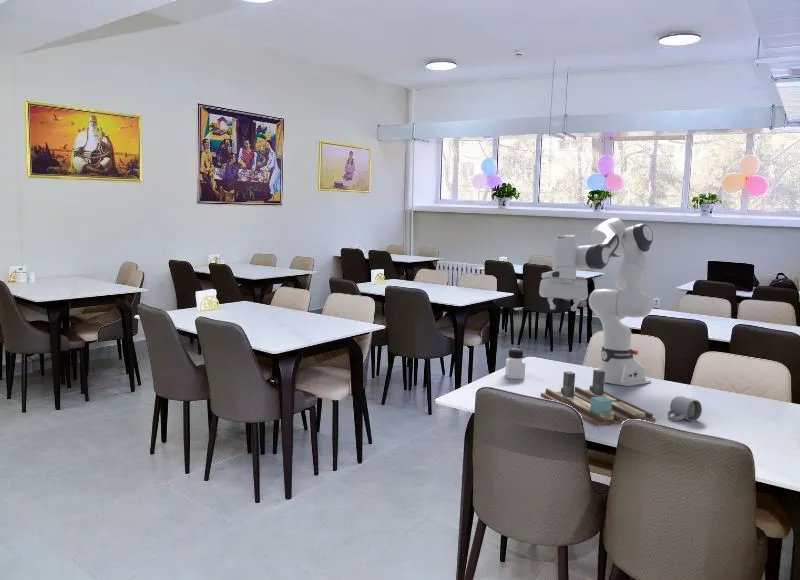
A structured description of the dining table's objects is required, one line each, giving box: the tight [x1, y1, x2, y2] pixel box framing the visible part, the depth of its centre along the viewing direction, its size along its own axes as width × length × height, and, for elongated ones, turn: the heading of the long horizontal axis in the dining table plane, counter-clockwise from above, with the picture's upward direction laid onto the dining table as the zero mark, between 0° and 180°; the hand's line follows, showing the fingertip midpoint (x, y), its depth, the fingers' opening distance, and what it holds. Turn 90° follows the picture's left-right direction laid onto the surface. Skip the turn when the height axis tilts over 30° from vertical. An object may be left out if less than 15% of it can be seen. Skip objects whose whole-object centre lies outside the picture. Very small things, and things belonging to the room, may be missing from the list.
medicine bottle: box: [504, 348, 526, 380], centre depth 275 cm, size 7×7×12 cm
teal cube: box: [590, 396, 612, 416], centre depth 222 cm, size 5×5×5 cm
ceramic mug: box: [667, 395, 703, 423], centre depth 226 cm, size 11×8×8 cm
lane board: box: [540, 385, 656, 427], centre depth 236 cm, size 24×36×3 cm, turn 18°
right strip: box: [561, 370, 614, 420], centre depth 231 cm, size 5×26×10 cm, turn 18°
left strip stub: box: [591, 369, 617, 402], centre depth 242 cm, size 5×10×10 cm, turn 18°
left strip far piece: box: [612, 401, 646, 417], centre depth 230 cm, size 5×14×1 cm, turn 18°
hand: (563, 310), depth 254 cm, fingers open, 8 cm apart
